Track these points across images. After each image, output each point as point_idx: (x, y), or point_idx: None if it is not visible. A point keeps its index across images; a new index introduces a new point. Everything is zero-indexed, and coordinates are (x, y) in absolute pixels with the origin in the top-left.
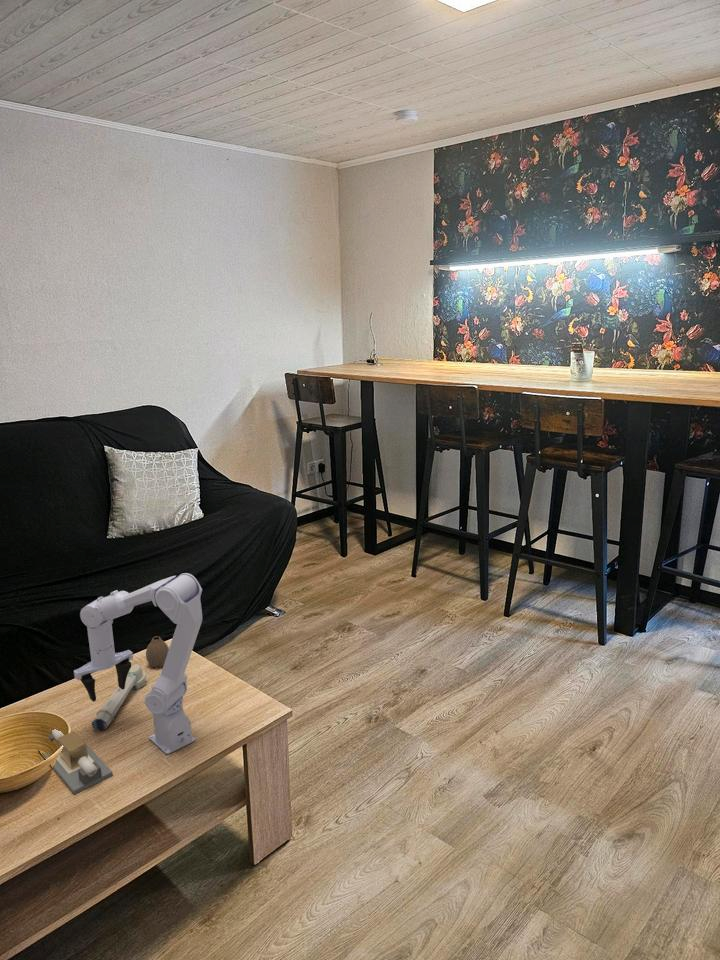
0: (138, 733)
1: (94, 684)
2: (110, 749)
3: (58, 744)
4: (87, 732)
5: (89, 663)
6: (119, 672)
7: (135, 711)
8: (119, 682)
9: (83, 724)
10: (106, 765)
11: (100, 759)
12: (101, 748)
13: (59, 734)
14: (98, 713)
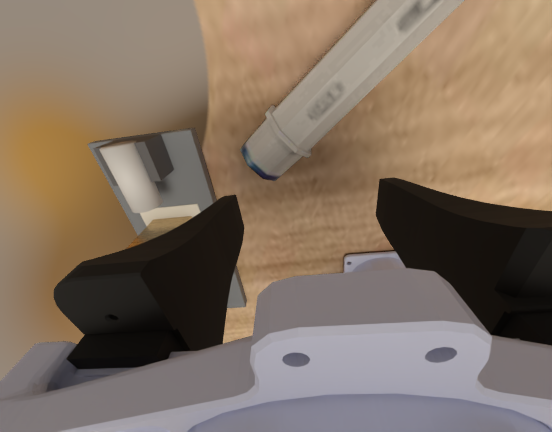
0: (337, 225)
1: (222, 328)
2: (263, 240)
3: (134, 241)
4: (230, 139)
5: (148, 409)
6: (431, 256)
7: (390, 120)
8: (391, 205)
9: (226, 82)
10: (240, 290)
11: (234, 272)
12: (247, 226)
13: (131, 205)
14: (270, 124)
